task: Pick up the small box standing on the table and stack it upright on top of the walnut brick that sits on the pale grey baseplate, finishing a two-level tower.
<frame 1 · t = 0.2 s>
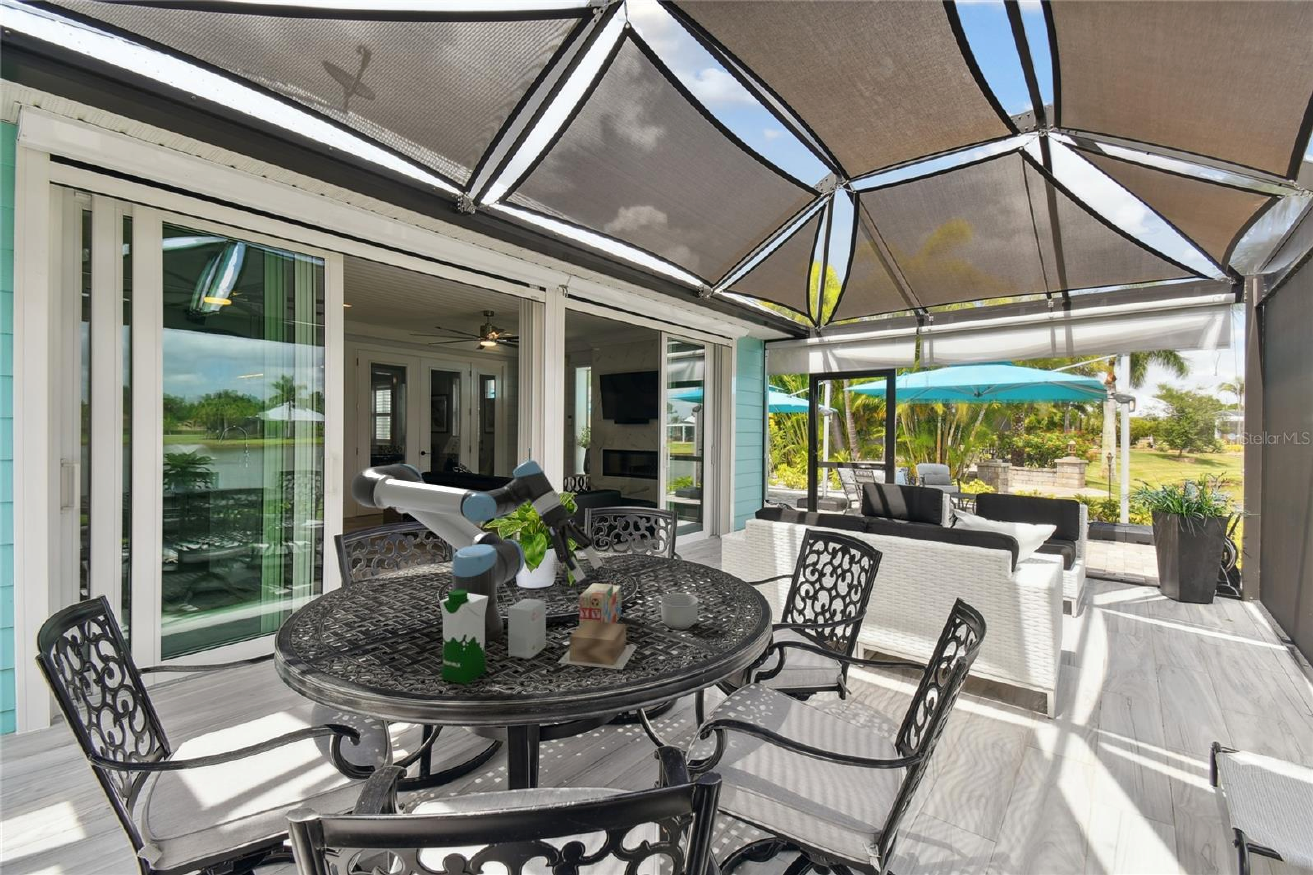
hand: (590, 573, 166), 15 cm above the table, tool tilted 35°, fingers open, 13 cm apart
milk carton: (464, 676, 134), on the table
walnut brick: (598, 654, 144), point 1 cm above the table, touching baseplate
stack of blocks: (601, 628, 166), on the table
small box: (527, 656, 146), on the table
baseplate: (598, 658, 144), on the table
teacup: (674, 625, 169), on the table
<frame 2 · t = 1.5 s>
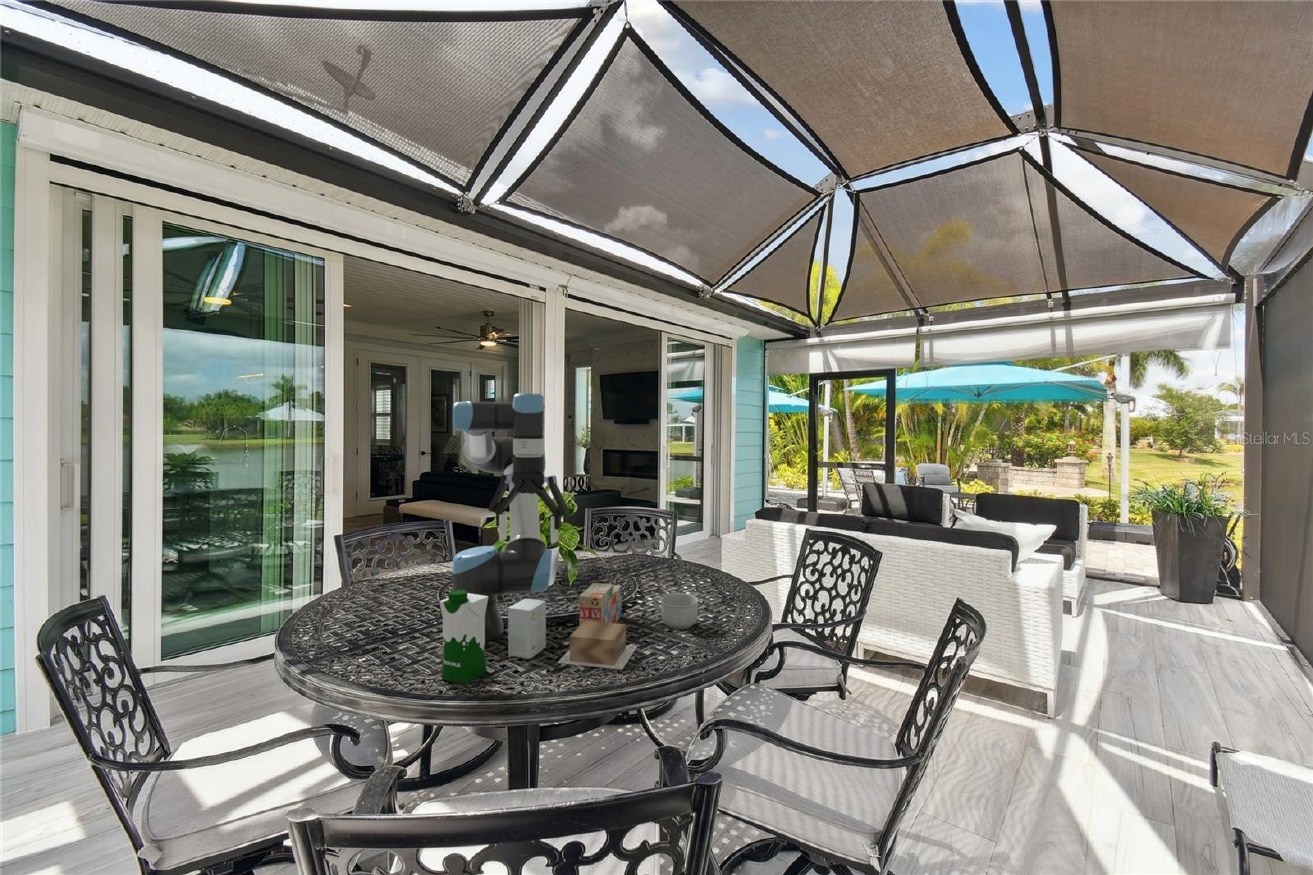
hand: (528, 541, 145), 29 cm above the table, tool pointing down, fingers open, 13 cm apart
nothing on the table moved.
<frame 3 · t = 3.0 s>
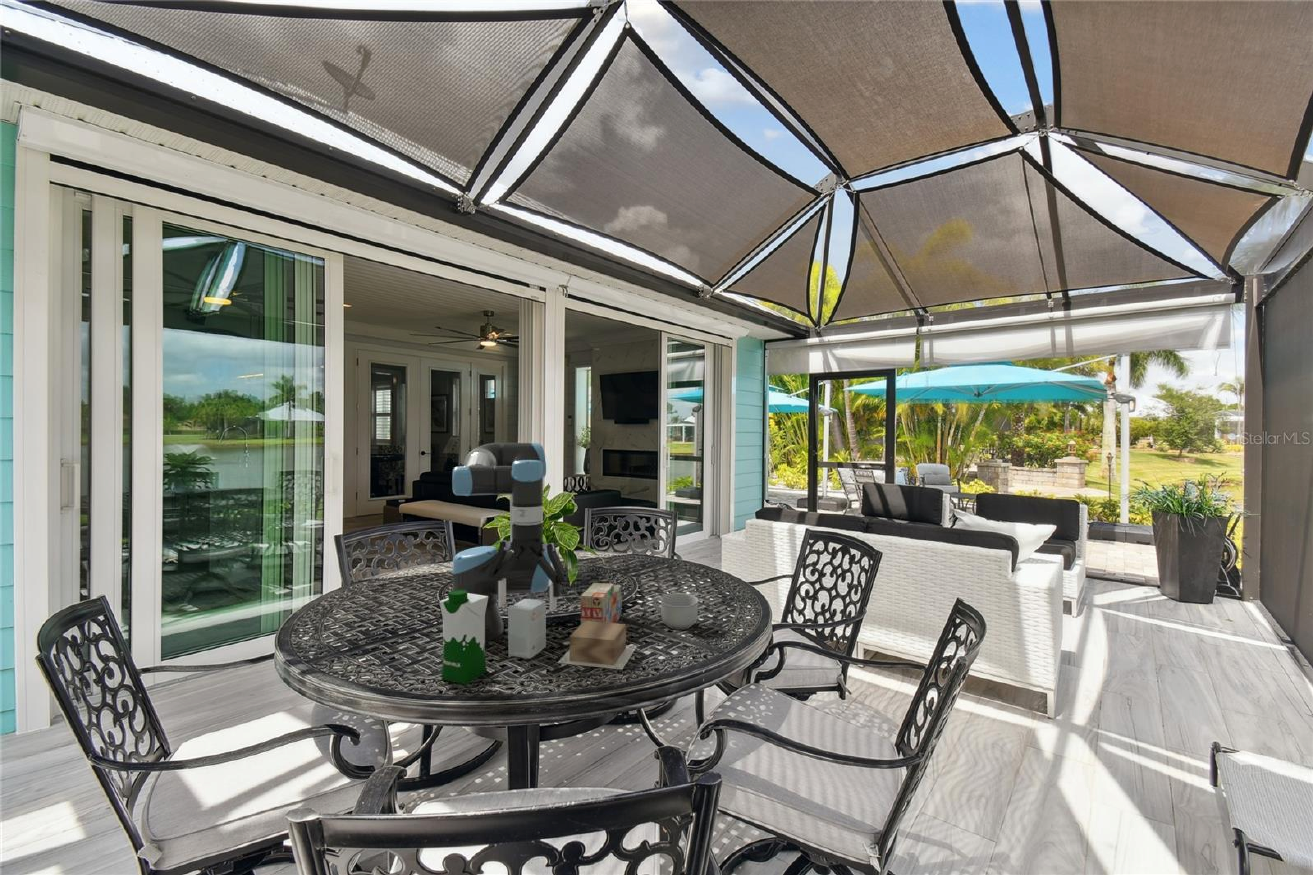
hand: (527, 607, 145), 12 cm above the table, tool pointing down, fingers open, 13 cm apart
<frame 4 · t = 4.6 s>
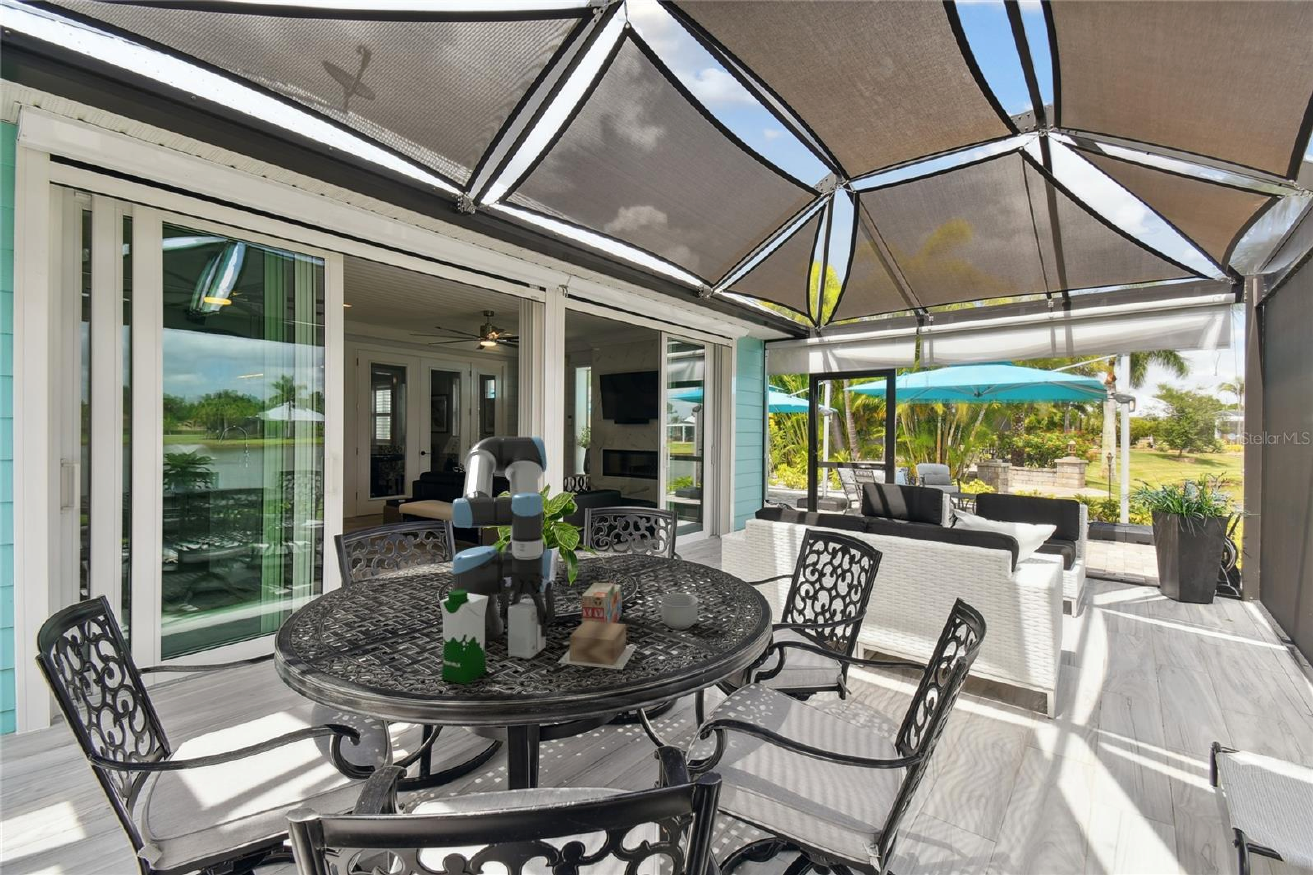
hand: (527, 647, 146), 2 cm above the table, tool pointing down, fingers closed on small box, 7 cm apart
small box: (527, 656, 146), on the table, touching gripper
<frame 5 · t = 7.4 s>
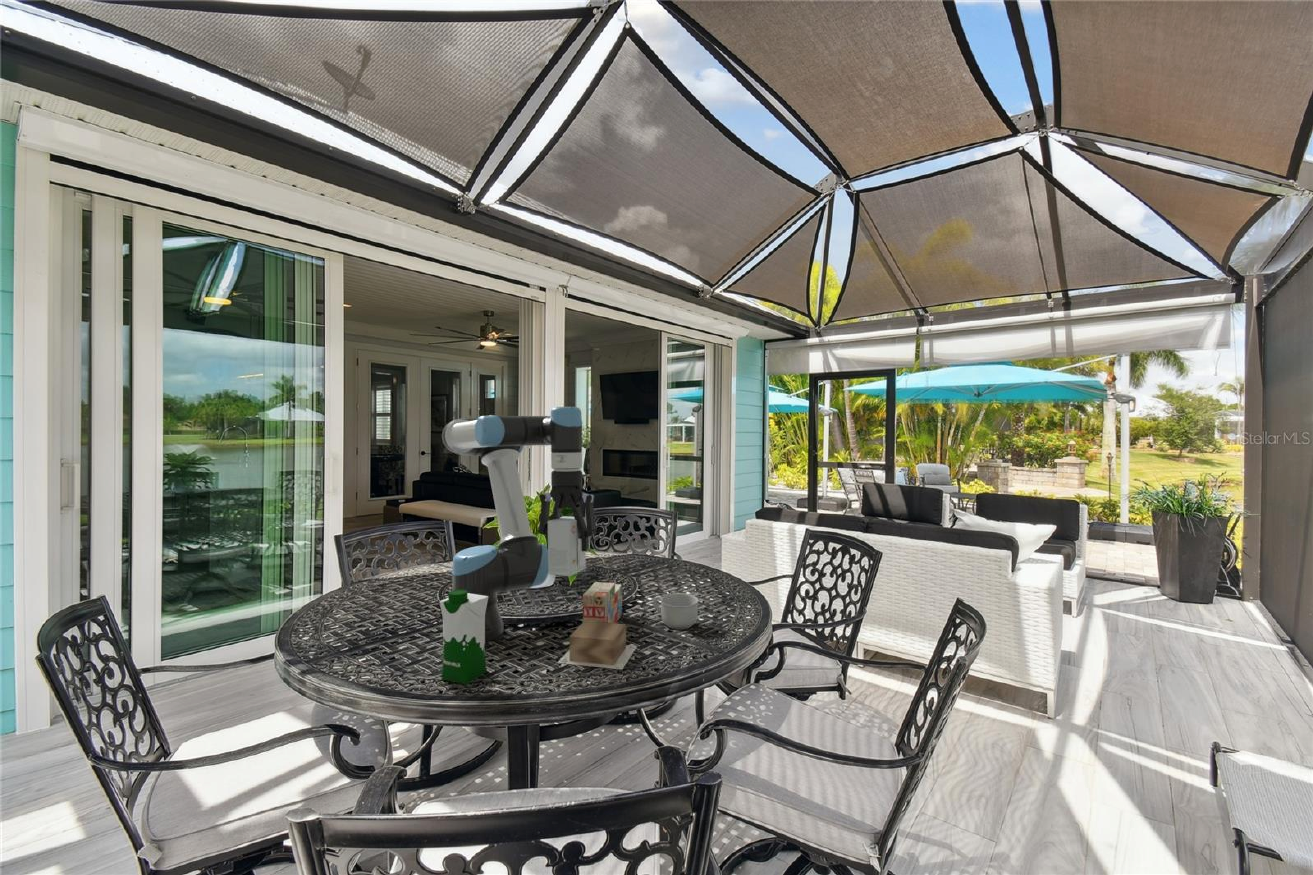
hand: (567, 563, 143), 24 cm above the table, tool pointing down, fingers closed on small box, 7 cm apart
small box: (567, 572, 143), point 21 cm above the table, touching gripper
when the fingers open (11 cm above the table, at t = 10.0 s): small box drops 1 cm, resting on walnut brick.
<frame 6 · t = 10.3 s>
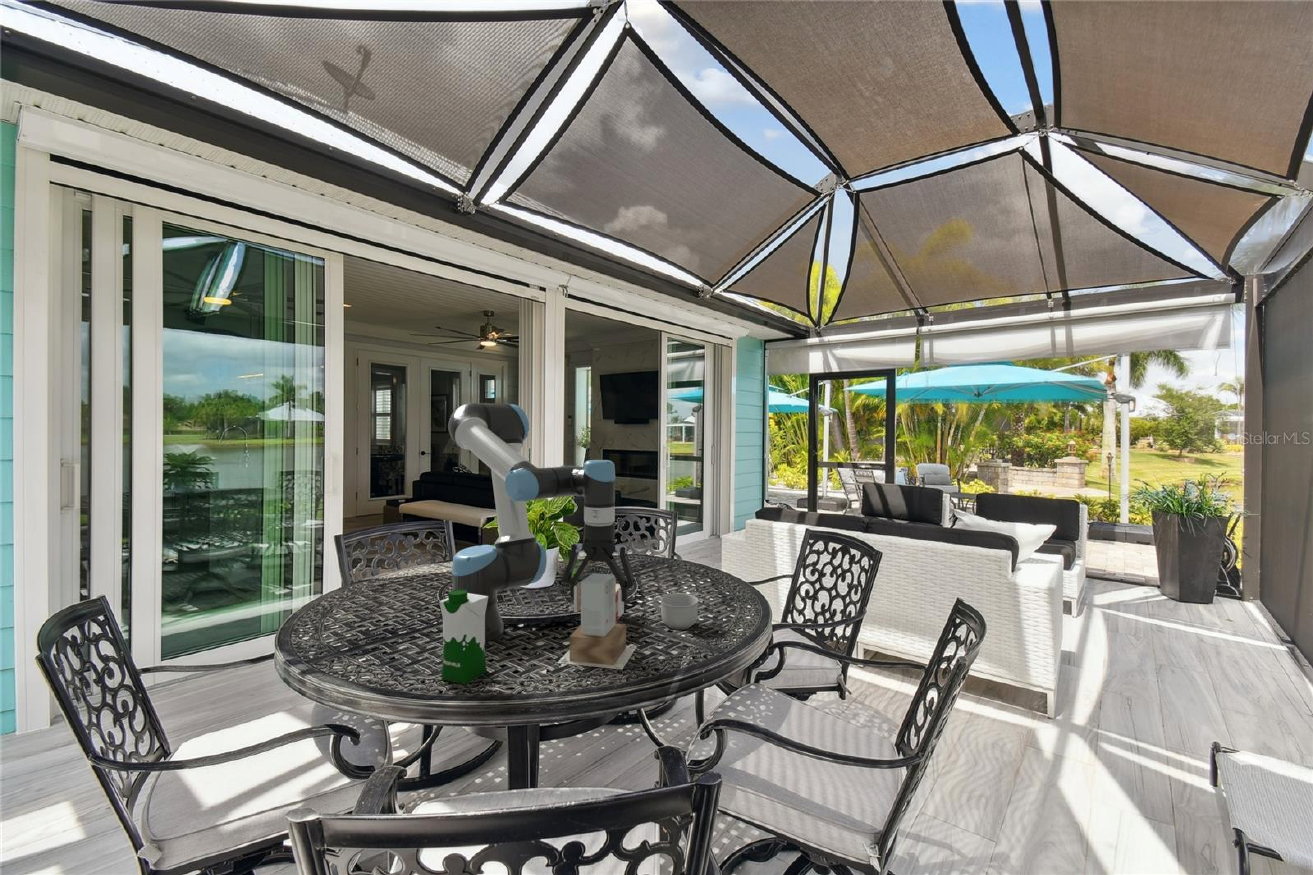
hand: (598, 612, 144), 12 cm above the table, tool pointing down, fingers open, 10 cm apart
walnut brick: (598, 654, 144), point 1 cm above the table, touching baseplate, small box
small box: (598, 630, 144), point 7 cm above the table, touching walnut brick
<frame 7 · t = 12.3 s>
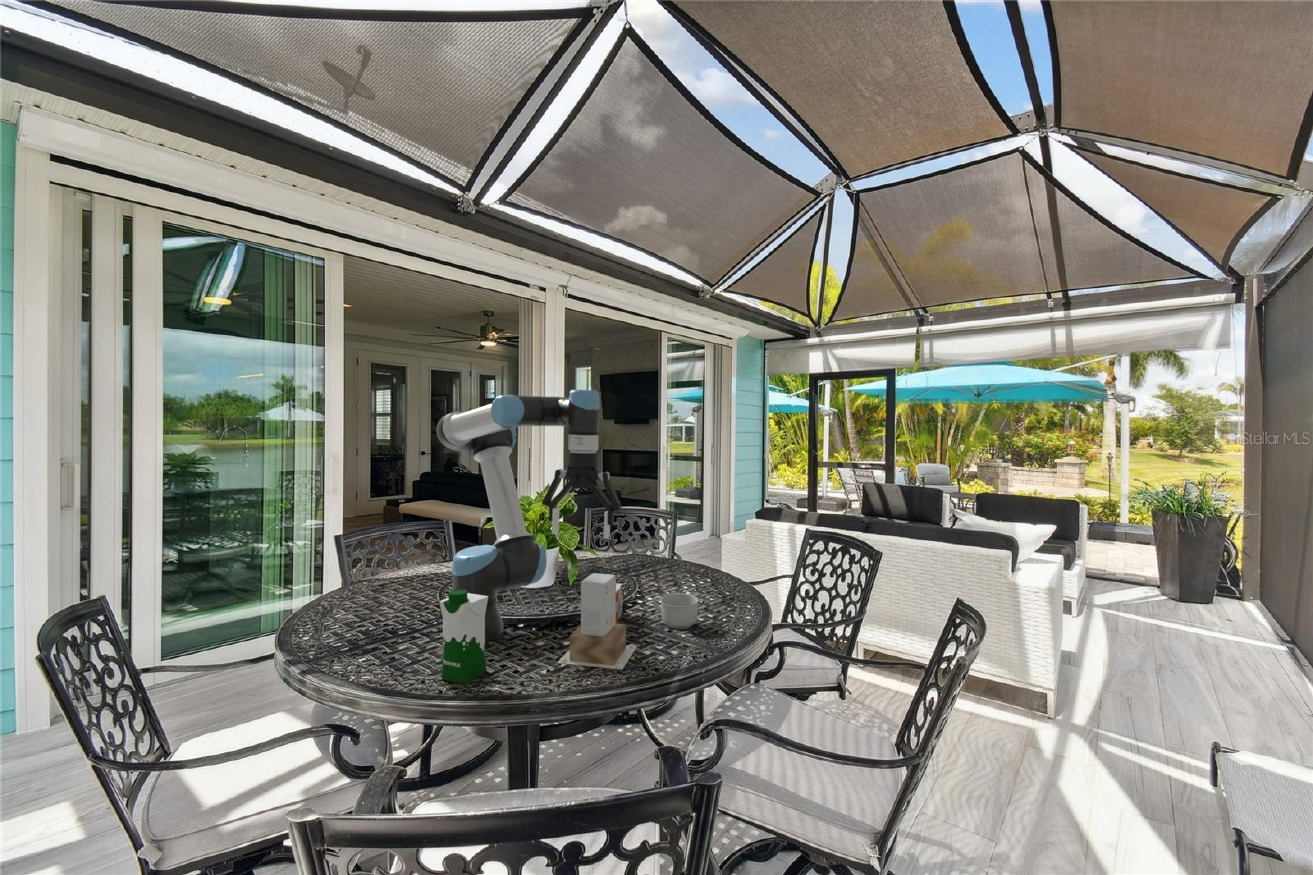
hand: (580, 535, 147), 30 cm above the table, tool pointing down, fingers open, 13 cm apart
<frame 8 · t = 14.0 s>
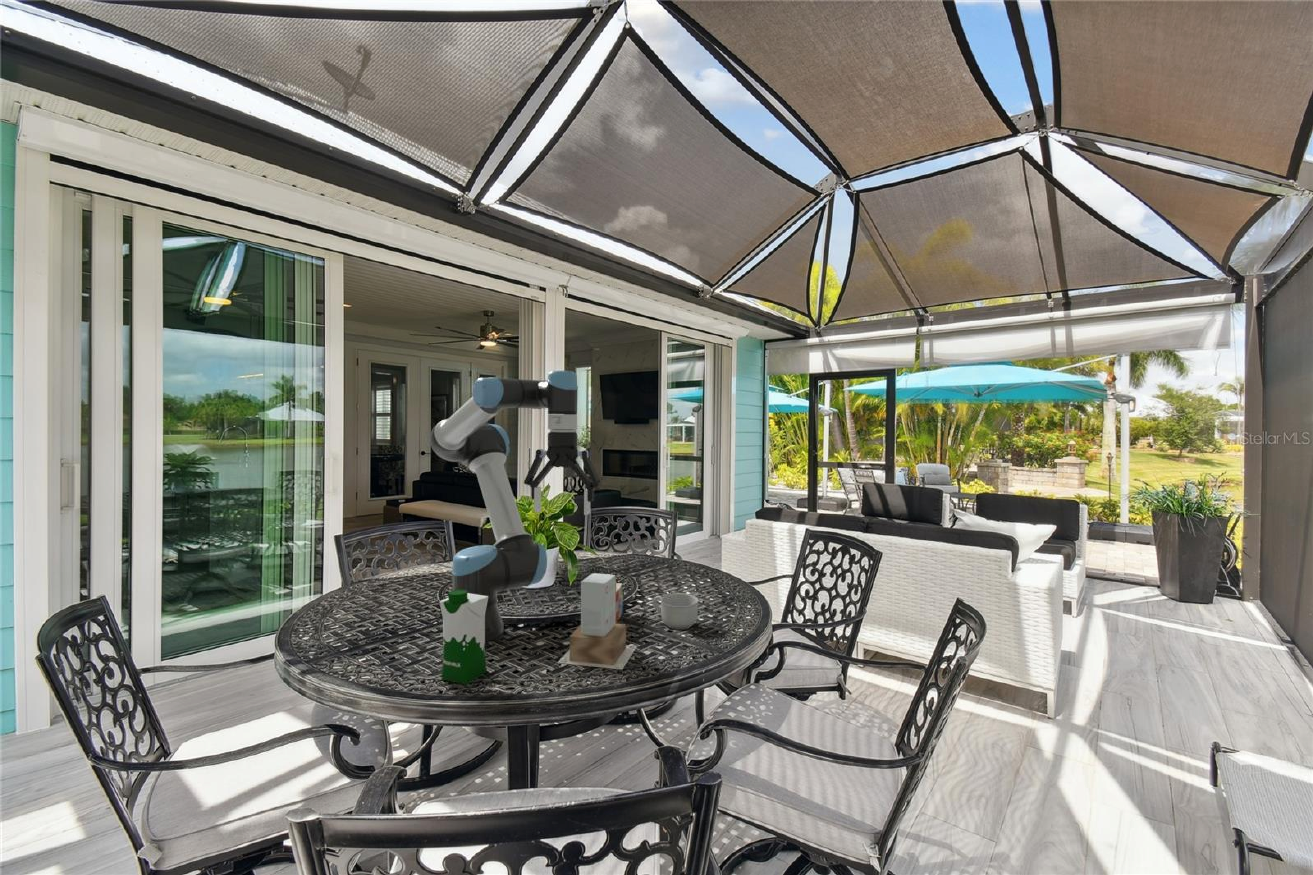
hand: (562, 513, 151), 35 cm above the table, tool pointing down, fingers open, 13 cm apart
at the end: small box 0.1 cm off-centre on the walnut brick, point 5.8 cm above the walnut brick's base; small box tilted 0°; walnut brick moved 0.0 cm from its start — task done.
